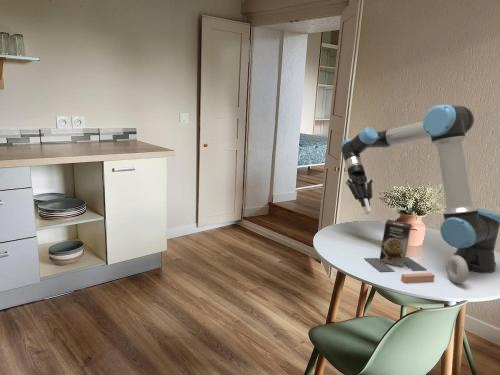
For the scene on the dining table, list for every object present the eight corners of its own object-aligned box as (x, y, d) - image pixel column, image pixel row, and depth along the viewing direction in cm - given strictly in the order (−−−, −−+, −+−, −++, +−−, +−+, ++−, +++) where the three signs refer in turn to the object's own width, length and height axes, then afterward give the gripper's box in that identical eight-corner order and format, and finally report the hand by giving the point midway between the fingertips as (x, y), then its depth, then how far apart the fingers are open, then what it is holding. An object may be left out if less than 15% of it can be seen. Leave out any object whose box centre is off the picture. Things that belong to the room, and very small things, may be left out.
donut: (442, 275, 146) (447, 250, 144) (451, 275, 147) (456, 251, 144) (458, 288, 137) (463, 262, 134) (467, 288, 137) (473, 262, 135)
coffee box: (378, 261, 154) (384, 222, 151) (381, 256, 160) (387, 218, 156) (403, 267, 150) (409, 227, 147) (405, 261, 156) (411, 223, 152)
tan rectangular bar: (429, 279, 143) (431, 272, 142) (433, 281, 141) (434, 275, 140) (400, 280, 140) (401, 274, 139) (404, 283, 138) (405, 276, 137)
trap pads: (407, 257, 161) (407, 256, 161) (426, 270, 150) (426, 269, 150) (364, 259, 157) (364, 258, 157) (380, 272, 145) (380, 271, 145)
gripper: (364, 173, 189) (377, 216, 177) (339, 172, 186) (351, 216, 174) (371, 164, 183) (385, 208, 171) (345, 163, 180) (358, 208, 168)
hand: (368, 212), depth 173 cm, fingers closed
